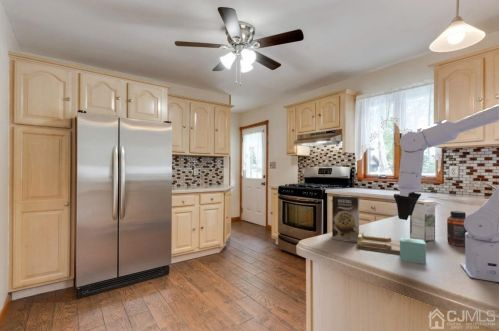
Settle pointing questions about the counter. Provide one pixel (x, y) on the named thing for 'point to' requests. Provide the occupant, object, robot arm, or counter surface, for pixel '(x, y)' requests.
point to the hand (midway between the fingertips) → (405, 217)
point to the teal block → (413, 250)
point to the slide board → (378, 244)
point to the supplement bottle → (456, 228)
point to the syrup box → (423, 220)
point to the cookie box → (345, 217)
